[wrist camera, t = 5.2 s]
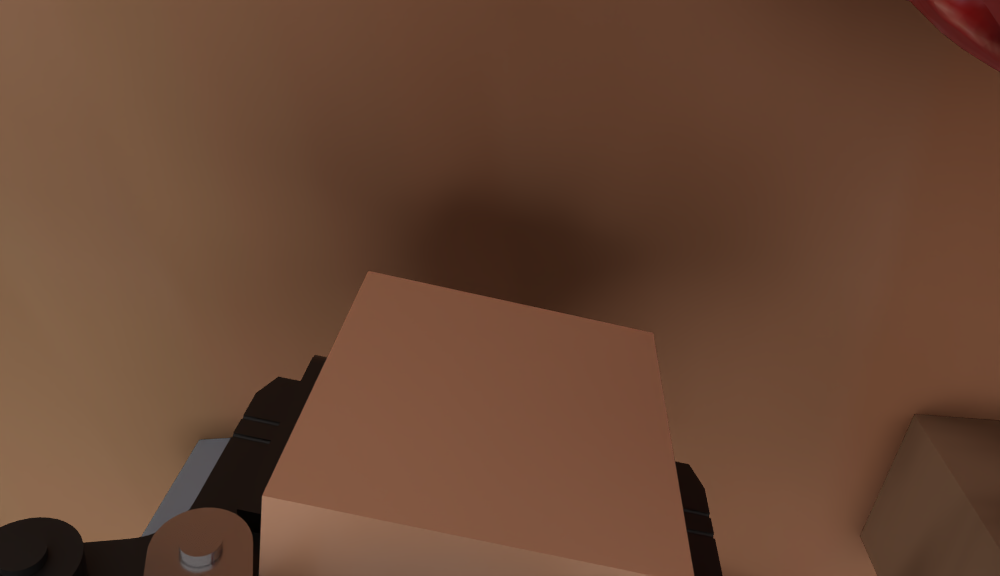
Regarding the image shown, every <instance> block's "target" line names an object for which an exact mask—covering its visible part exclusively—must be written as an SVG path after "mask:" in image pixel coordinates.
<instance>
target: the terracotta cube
mask: <svg viewBox="0 0 1000 576" xmlns="http://www.w3.org/2000/svg"><path fill="white" fill-rule="evenodd" d="M259 576H694V572H693V566H692V560H691V554H690V548H689V542H688V536H687V530H686V524H685V518H684V512H683V506H682V500H681V494H680V488H679V483H678V477H677V471H676V465H675V459H674V453H673V447H672V441H671V435H670V429H669V423H668V417H667V411H666V405H665V399H664V393H663V387H662V382H661V376H660V370H659V364H658V358H657V352H656V346H655V340H654V334H653V333H652V332H647V331H643V330H638V329H633V328H629V327H624V326H620V325H615V324H610V323H606V322H601V321H597V320H592V319H587V318H583V317H578V316H574V315H569V314H564V313H560V312H555V311H551V310H546V309H542V308H537V307H532V306H528V305H523V304H519V303H514V302H509V301H505V300H500V299H496V298H491V297H486V296H482V295H477V294H473V293H468V292H463V291H459V290H454V289H450V288H445V287H441V286H436V285H431V284H427V283H422V282H418V281H413V280H408V279H404V278H399V277H395V276H390V275H385V274H381V273H376V272H372V271H368V272H367V274H366V276H365V279H364V281H363V283H362V285H361V287H360V289H359V291H358V293H357V296H356V298H355V300H354V302H353V304H352V306H351V308H350V310H349V312H348V315H347V317H346V319H345V321H344V323H343V325H342V327H341V329H340V332H339V334H338V336H337V338H336V340H335V342H334V344H333V346H332V349H331V351H330V353H329V355H328V357H327V359H326V361H325V363H324V365H323V368H322V370H321V372H320V374H319V376H318V378H317V380H316V382H315V385H314V387H313V389H312V391H311V393H310V395H309V397H308V399H307V402H306V404H305V406H304V408H303V410H302V412H301V414H300V416H299V418H298V421H297V423H296V425H295V427H294V429H293V431H292V433H291V435H290V438H289V440H288V442H287V444H286V446H285V448H284V450H283V452H282V454H281V457H280V459H279V461H278V463H277V465H276V467H275V469H274V471H273V474H272V476H271V478H270V480H269V482H268V484H267V486H266V488H265V491H264V493H263V495H262V510H261V535H260V559H259Z"/></svg>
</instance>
